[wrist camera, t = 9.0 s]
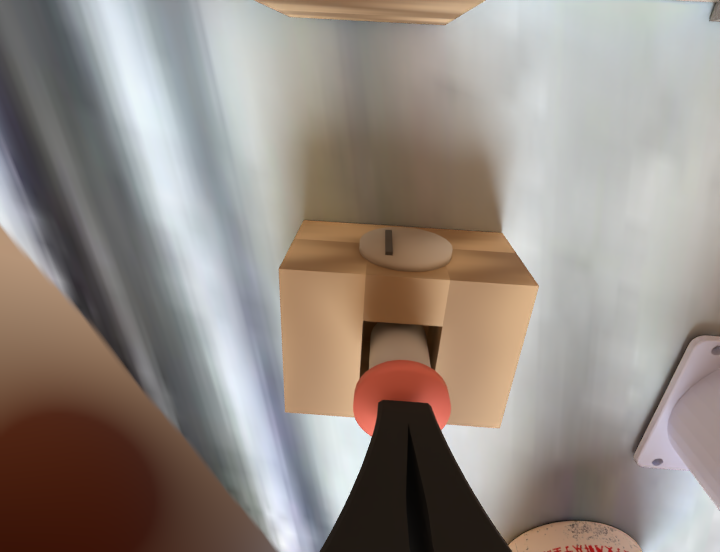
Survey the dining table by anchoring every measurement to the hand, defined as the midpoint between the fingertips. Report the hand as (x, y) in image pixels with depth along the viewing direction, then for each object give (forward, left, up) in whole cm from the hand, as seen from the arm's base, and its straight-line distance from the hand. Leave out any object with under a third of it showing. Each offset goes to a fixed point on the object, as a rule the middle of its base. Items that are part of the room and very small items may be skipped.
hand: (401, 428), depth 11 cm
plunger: (0, 0, -4) cm, 4 cm away
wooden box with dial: (0, 0, -8) cm, 8 cm away
